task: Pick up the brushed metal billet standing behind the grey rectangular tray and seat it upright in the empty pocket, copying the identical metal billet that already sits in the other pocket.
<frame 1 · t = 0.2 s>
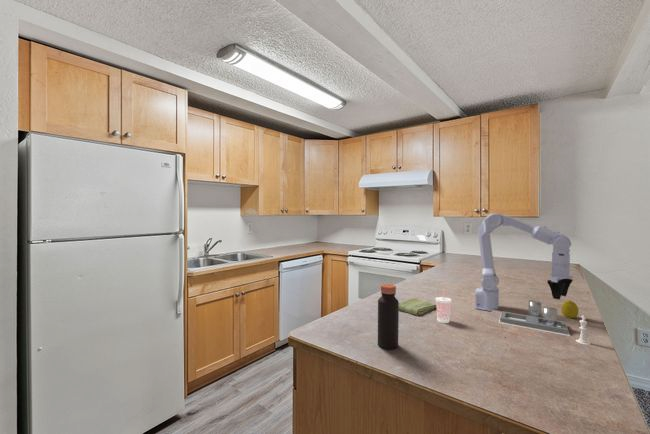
hand: (559, 297, 123), 10 cm above the counter, tool pointing down, fingers open, 7 cm apart
lemon: (569, 319, 125), on the counter
chess piece: (582, 345, 101), on the counter
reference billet: (549, 326, 114), point 1 cm above the counter, touching grey rectangular tray
bottle: (387, 345, 100), on the counter
beverage cup: (443, 321, 122), on the counter
washcloth: (415, 309, 138), on the counter
billet: (534, 318, 126), on the counter
grey rectangular tray: (532, 326, 117), on the counter
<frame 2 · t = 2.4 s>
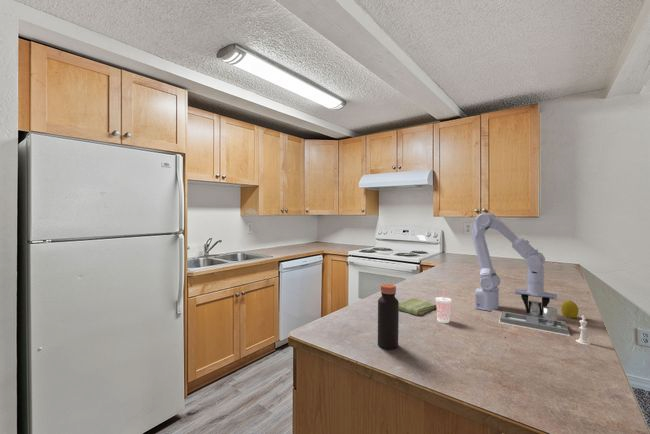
hand: (534, 313, 125), 2 cm above the counter, tool pointing down, fingers closed on billet, 4 cm apart
billet: (534, 318, 126), on the counter, touching gripper
everything else where it was.
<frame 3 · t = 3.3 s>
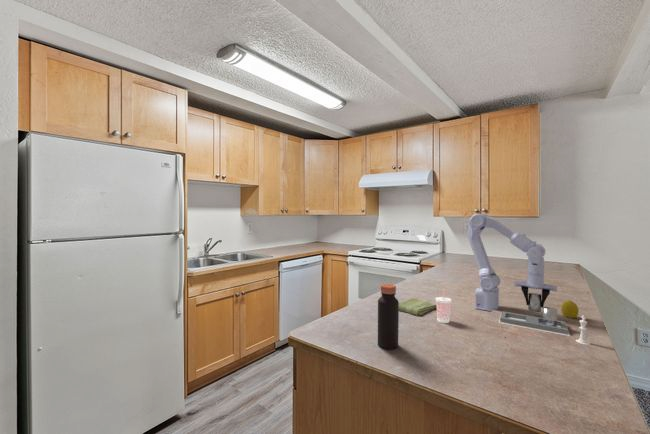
hand: (534, 305, 125), 5 cm above the counter, tool pointing down, fingers closed on billet, 4 cm apart
billet: (534, 310, 125), point 3 cm above the counter, touching gripper
everything else where it was.
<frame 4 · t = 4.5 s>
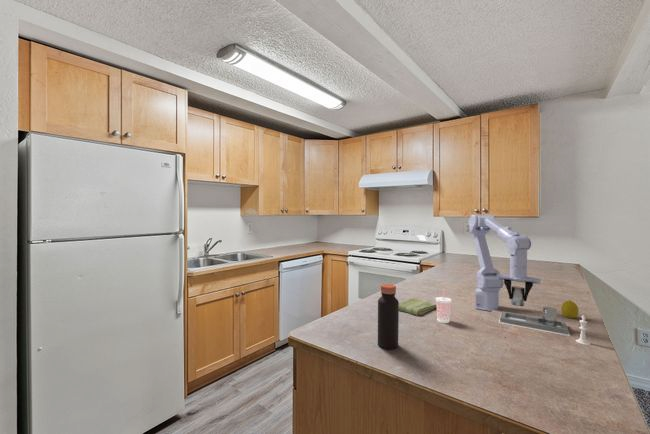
hand: (517, 299, 120), 9 cm above the counter, tool pointing down, fingers closed on billet, 4 cm apart
billet: (517, 304, 121), point 7 cm above the counter, touching gripper
everything else where it was.
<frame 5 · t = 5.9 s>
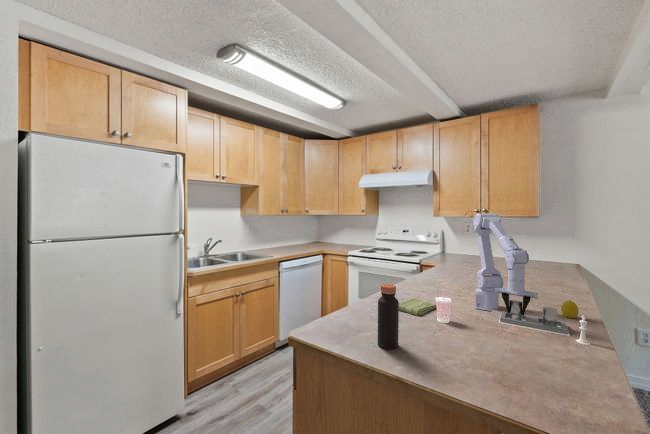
hand: (515, 313, 120), 4 cm above the counter, tool pointing down, fingers closed on billet, 4 cm apart
billet: (515, 318, 120), point 2 cm above the counter, touching gripper
everything else where it was.
when the fingers open (4 cm above the counter, at t = 6.8 s): billet stays where it is, resting on grey rectangular tray.
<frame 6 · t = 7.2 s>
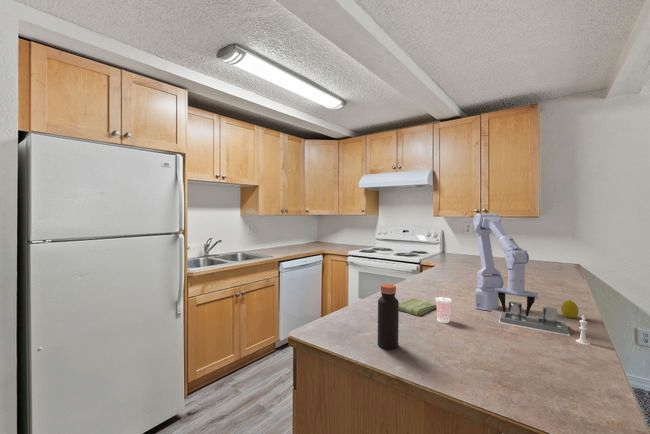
hand: (515, 313, 120), 4 cm above the counter, tool pointing down, fingers open, 7 cm apart
billet: (515, 320, 120), point 1 cm above the counter, touching grey rectangular tray
everything else where it was.
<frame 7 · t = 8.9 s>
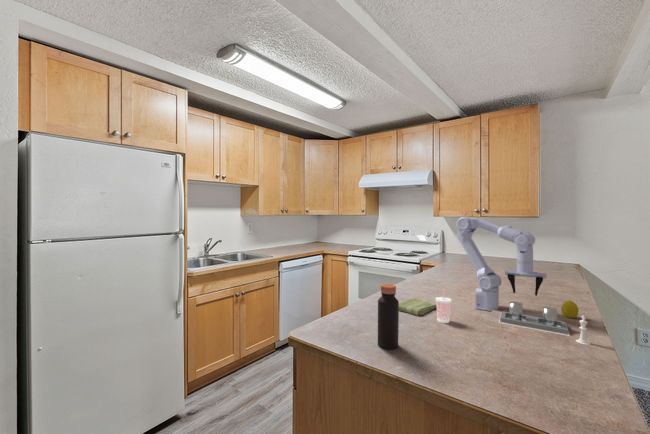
hand: (525, 293, 126), 10 cm above the counter, tool pointing down, fingers open, 7 cm apart
nothing on the counter moved.
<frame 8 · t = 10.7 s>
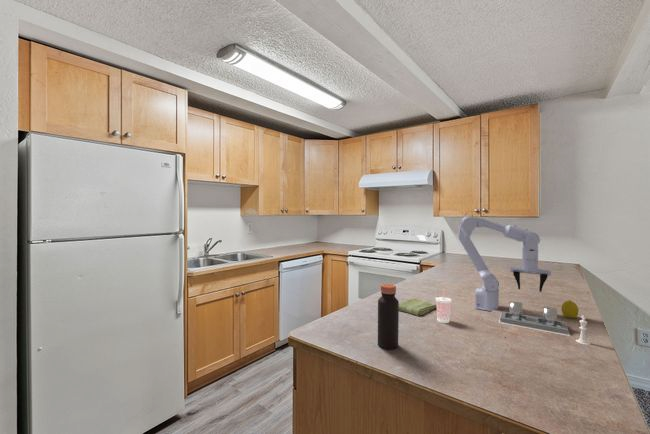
hand: (529, 289, 131), 10 cm above the counter, tool pointing down, fingers open, 7 cm apart
nothing on the counter moved.
at the end: billet 0.2 cm from the target spot on the grey rectangular tray, point 1.1 cm above the grey rectangular tray's base; billet tilted 2°; the gripper is holding nothing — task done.
